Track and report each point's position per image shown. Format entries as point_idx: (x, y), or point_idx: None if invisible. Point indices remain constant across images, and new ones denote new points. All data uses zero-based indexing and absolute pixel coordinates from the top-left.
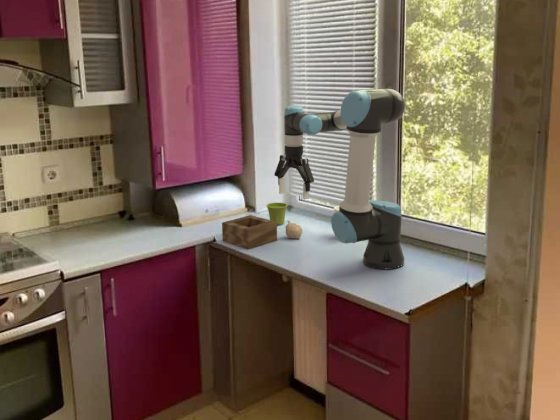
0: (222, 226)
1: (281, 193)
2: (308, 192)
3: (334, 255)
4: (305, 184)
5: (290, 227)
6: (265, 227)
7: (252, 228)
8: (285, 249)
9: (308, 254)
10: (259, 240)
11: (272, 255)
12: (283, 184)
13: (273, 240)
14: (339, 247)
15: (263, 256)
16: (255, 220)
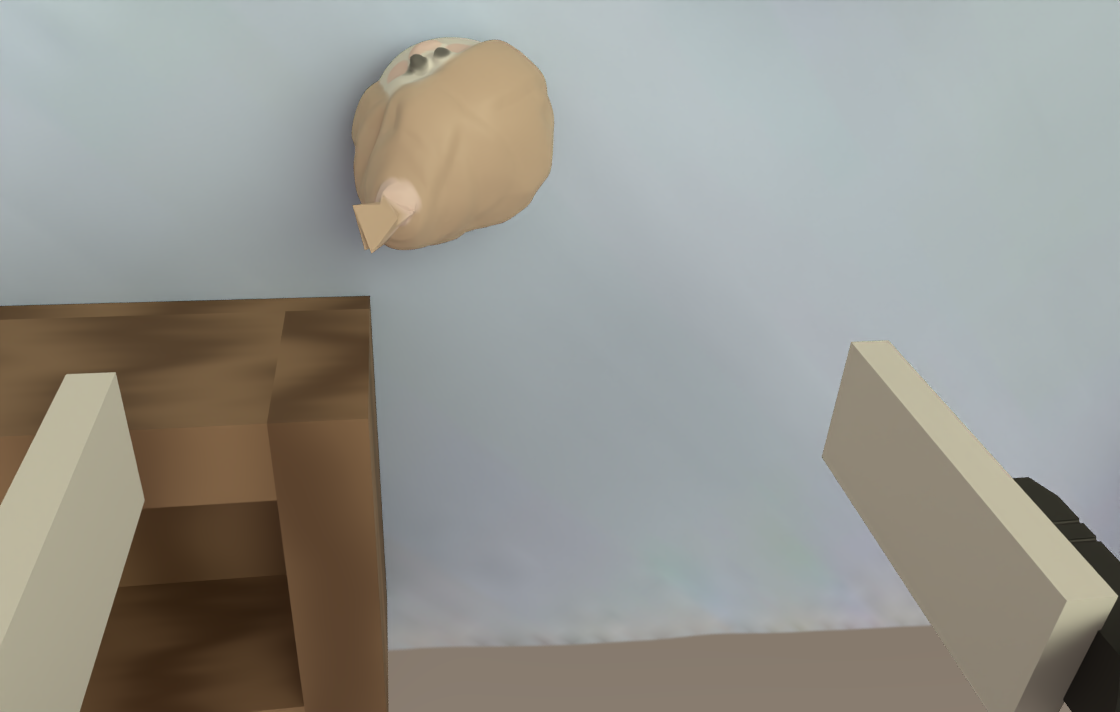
0: None
1: (136, 477)
2: (955, 434)
3: (1079, 235)
4: (1050, 684)
5: (458, 231)
6: (377, 555)
7: (370, 703)
8: (625, 408)
9: None
10: (381, 538)
11: (638, 555)
12: (61, 577)
13: (372, 351)
14: (1043, 13)
15: (598, 605)
16: None
